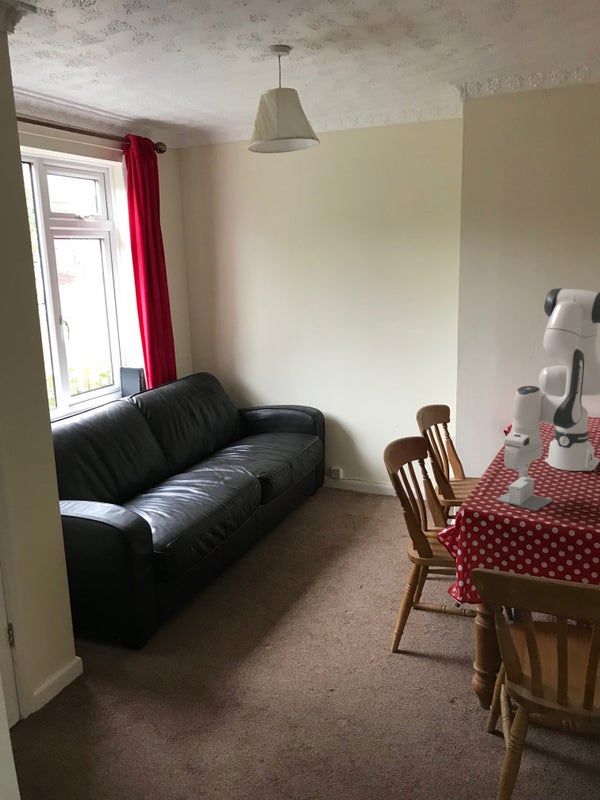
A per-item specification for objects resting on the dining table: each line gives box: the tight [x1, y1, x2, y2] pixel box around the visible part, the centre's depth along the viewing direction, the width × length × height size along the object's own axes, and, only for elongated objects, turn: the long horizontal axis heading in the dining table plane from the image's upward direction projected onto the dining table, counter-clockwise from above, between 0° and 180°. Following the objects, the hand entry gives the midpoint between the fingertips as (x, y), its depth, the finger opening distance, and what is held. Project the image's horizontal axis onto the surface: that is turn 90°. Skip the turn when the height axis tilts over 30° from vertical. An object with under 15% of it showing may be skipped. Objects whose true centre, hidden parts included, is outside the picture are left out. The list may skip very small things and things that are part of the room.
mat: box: [495, 491, 553, 512], centre depth 221 cm, size 12×14×1 cm
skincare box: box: [508, 476, 535, 505], centre depth 220 cm, size 6×4×12 cm
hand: (522, 475), depth 222 cm, fingers closed
